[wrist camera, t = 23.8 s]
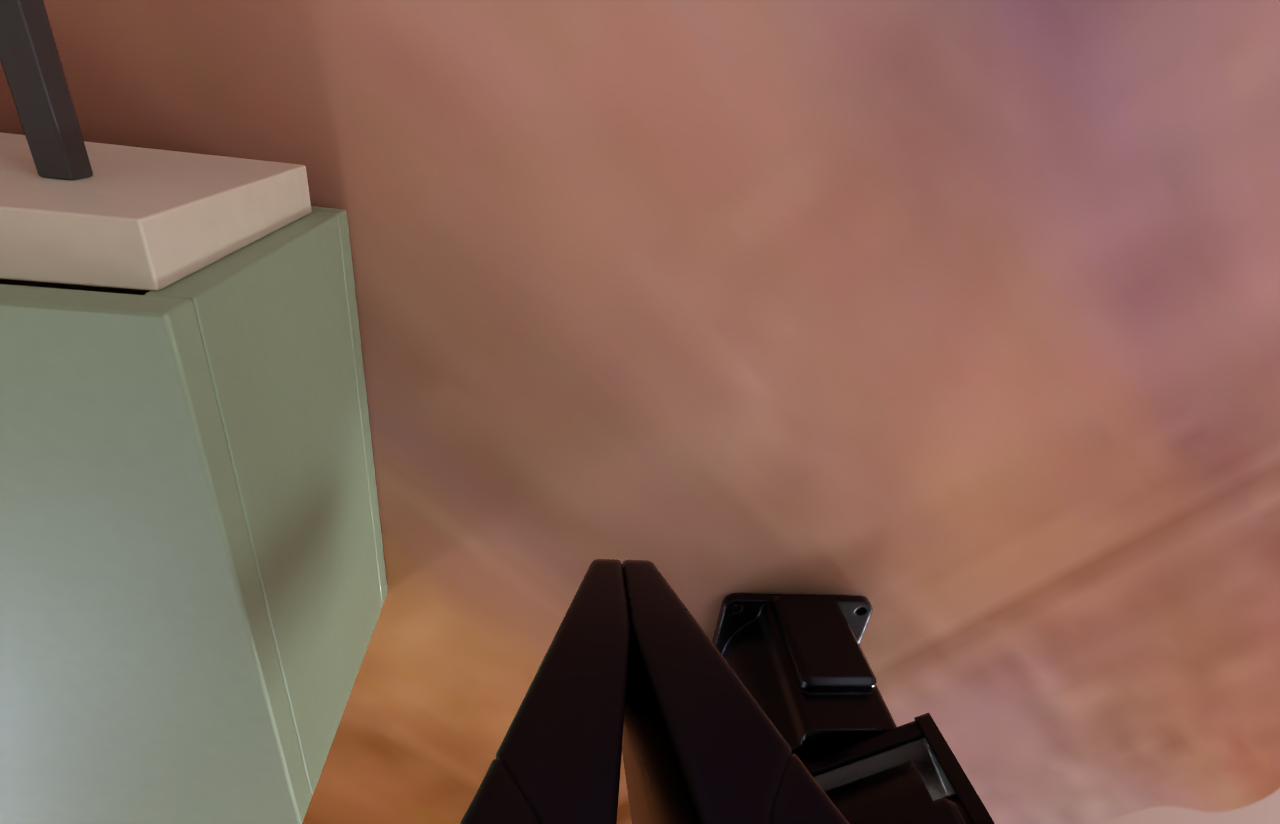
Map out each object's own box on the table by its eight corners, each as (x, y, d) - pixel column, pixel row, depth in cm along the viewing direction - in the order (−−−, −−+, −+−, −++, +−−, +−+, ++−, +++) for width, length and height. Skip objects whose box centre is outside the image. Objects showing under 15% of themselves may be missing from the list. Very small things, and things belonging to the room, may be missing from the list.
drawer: (-341, -145, 12) (-1242, -361, 6) (277, -52, 13) (41, -152, 8) (3, 554, 20) (-232, 749, 15) (359, 563, 22) (278, 743, 16)
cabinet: (-178, 156, 15) (-898, 234, 8) (347, 208, 17) (165, 313, 10) (28, 584, 22) (-252, 843, 15) (388, 592, 24) (301, 828, 16)
